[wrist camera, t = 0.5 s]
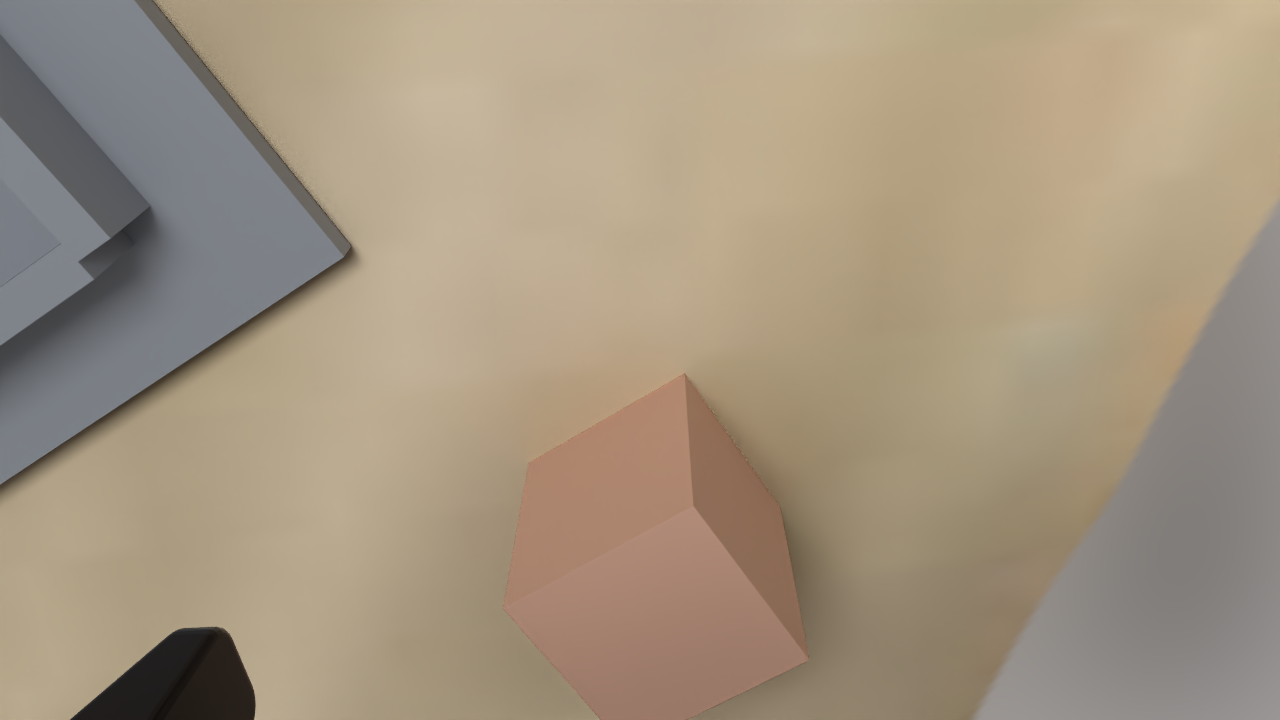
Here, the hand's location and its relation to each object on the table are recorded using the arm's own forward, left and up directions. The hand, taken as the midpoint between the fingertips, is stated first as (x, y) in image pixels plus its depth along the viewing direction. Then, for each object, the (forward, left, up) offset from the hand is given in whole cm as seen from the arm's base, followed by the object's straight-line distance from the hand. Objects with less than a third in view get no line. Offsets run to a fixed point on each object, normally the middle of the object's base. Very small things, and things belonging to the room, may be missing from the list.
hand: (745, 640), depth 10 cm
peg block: (-4, -6, -14) cm, 15 cm away
